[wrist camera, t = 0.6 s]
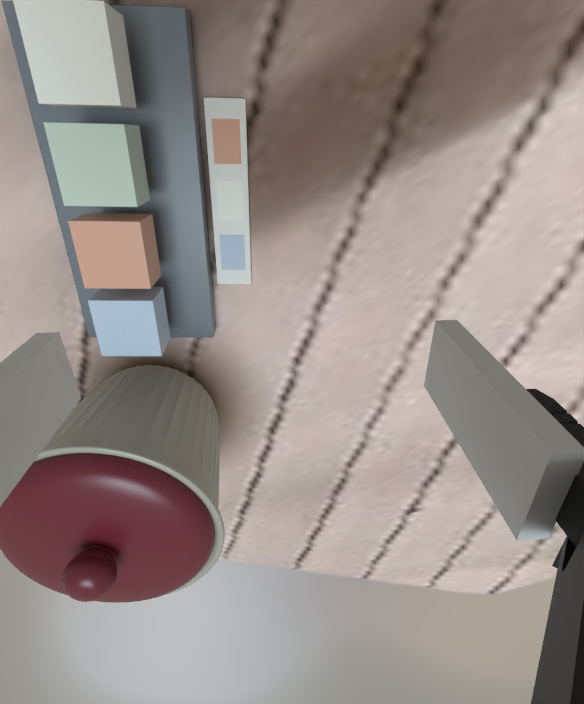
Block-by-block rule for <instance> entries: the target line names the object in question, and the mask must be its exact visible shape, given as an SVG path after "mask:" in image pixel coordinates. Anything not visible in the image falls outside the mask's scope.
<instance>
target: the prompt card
mask: <svg viewBox="0 0 584 704" xmlns="http://www.w3.org/2000/svg"><path fill="white" fill-rule="evenodd" d="M204 109H205V122H206V135H207V149H208V162H209V175H210V188H211V202H212V215H213V228H214V241H215V254H216V268H217V281H218V284H251V251H250V220H249V188H248V157H247V125H246V99H242V98H204Z"/></svg>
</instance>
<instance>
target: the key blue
mask: <svg viewBox="0 0 584 704" xmlns="http://www.w3.org/2000/svg"><path fill="white" fill-rule="evenodd" d="M88 303H89V307H90V311H91V315H92V319H93V323H94V328H95V332H96V336H97V340H98V344H99V348H100V352H101V356H162V355H163V353H164V351H165V349H166V347H167V345H168V343H169V341H170V339H171V338H170V331H169V325H168V318H167V311H166V304H165V297H164V291H163V287H152V288H151V289H108V288H101V289H100V290H99V291H98V292H97V293H96V294H95V295H93V296H92V297H91V298H90V299H89V300H88Z"/></svg>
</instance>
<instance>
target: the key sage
mask: <svg viewBox="0 0 584 704" xmlns="http://www.w3.org/2000/svg"><path fill="white" fill-rule="evenodd" d="M43 123H44V127H45V131H46V135H47V139H48V143H49V147H50V151H51V155H52V159H53V163H54V167H55V171H56V175H57V179H58V183H59V187H60V191H61V195H62V199H63V203H64V206H103V207H138V206H140V205H142V204H144V203H146V202H148V201H150V195H149V189H148V182H147V175H146V168H145V161H144V155H143V148H142V141H141V134H140V127H139V125H128V124H91V123H48V122H43Z"/></svg>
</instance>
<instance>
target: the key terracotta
mask: <svg viewBox="0 0 584 704" xmlns="http://www.w3.org/2000/svg"><path fill="white" fill-rule="evenodd" d="M68 223H69V227H70V231H71V235H72V239H73V243H74V247H75V251H76V255H77V259H78V263H79V267H80V271H81V275H82V279H83V283H84V287H85V288H108V289H151V288H152V287H153V285H154V284H155V283H156V282H157V280H158V279H159V278H160V277H161V270H160V263H159V257H158V250H157V243H156V236H155V229H154V223H153V216H152V214H131V213H86V214H83V215H81V216H78V217H76V218H74V219H71V220H69V221H68Z"/></svg>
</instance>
